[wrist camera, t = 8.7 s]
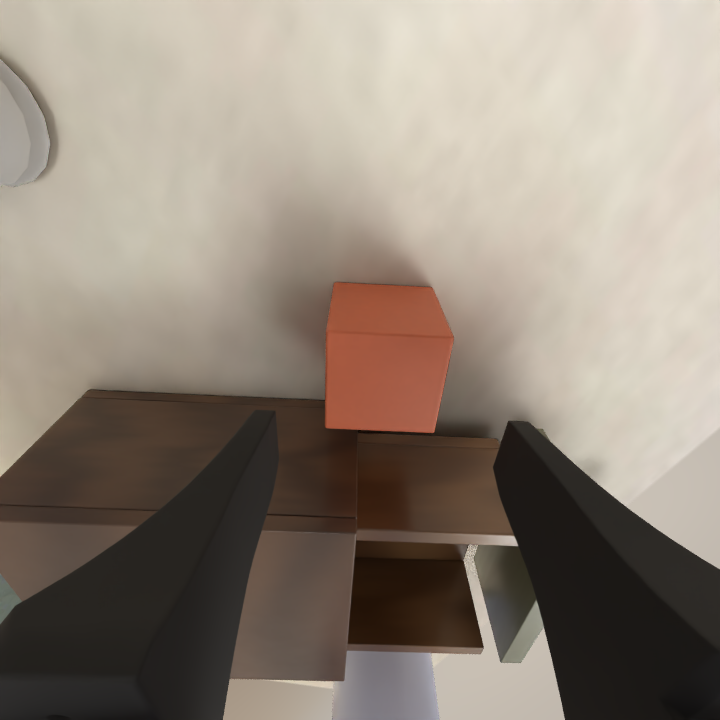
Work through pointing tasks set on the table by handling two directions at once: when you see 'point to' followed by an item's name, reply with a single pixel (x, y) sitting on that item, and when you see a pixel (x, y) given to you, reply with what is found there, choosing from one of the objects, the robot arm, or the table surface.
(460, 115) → the table surface
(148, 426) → the cabinet
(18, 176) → the rook chess piece
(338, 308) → the block
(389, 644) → the drawer
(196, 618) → the robot arm
